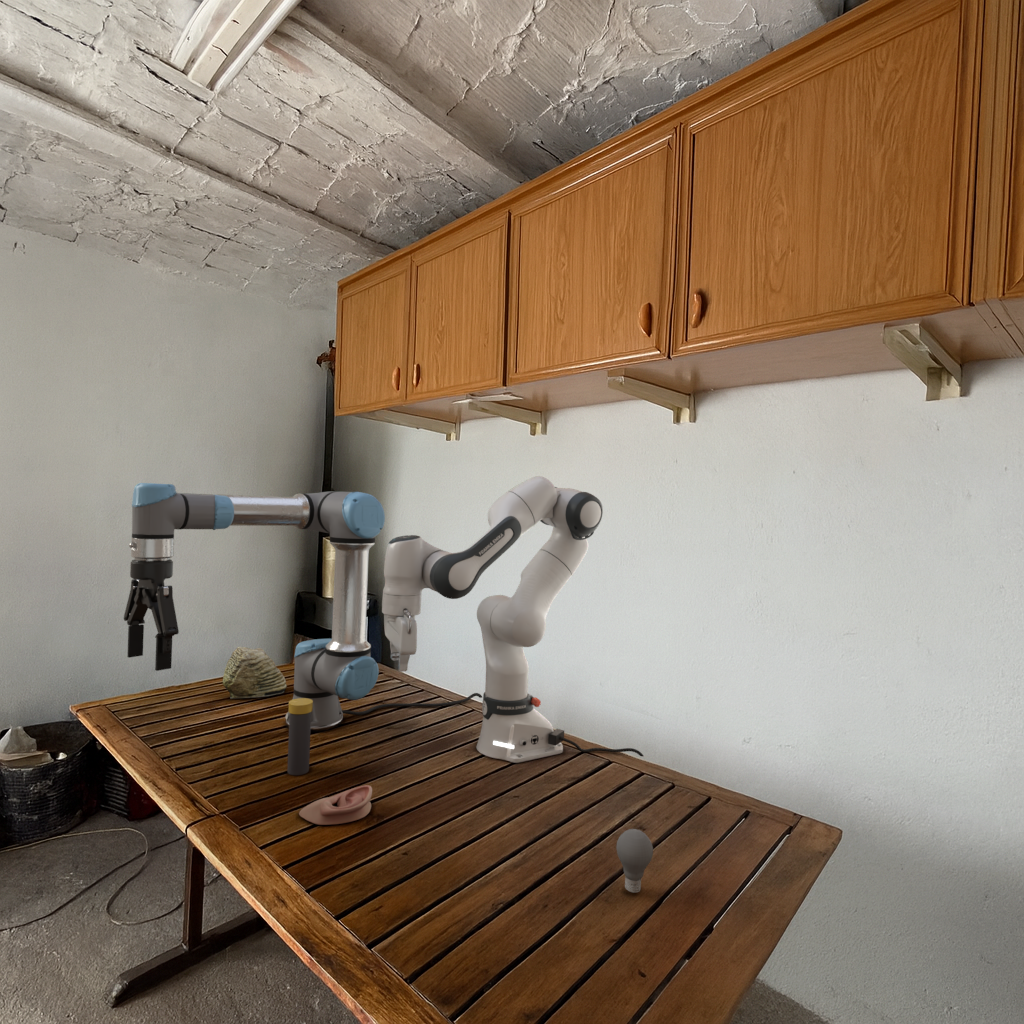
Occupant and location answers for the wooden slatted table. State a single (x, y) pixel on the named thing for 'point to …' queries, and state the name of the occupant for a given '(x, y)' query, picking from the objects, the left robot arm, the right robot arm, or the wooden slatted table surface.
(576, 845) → the wooden slatted table surface
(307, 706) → the lid
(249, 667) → the fossil
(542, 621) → the right robot arm
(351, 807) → the anatomical model
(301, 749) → the dark grey bottle
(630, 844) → the light bulb
